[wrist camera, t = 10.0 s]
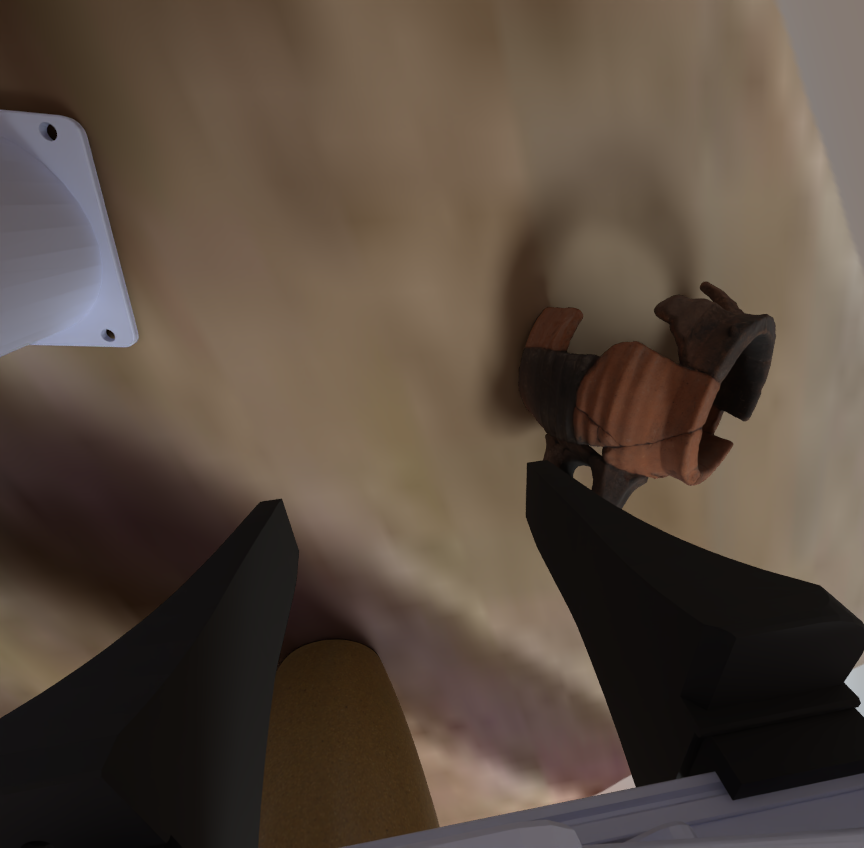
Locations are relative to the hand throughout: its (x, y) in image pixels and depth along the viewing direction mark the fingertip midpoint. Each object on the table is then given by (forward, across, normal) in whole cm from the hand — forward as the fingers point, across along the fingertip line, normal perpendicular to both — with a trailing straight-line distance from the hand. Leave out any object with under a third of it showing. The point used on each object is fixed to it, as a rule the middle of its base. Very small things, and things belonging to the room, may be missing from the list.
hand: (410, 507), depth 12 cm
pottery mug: (+10, -10, +1) cm, 14 cm away
